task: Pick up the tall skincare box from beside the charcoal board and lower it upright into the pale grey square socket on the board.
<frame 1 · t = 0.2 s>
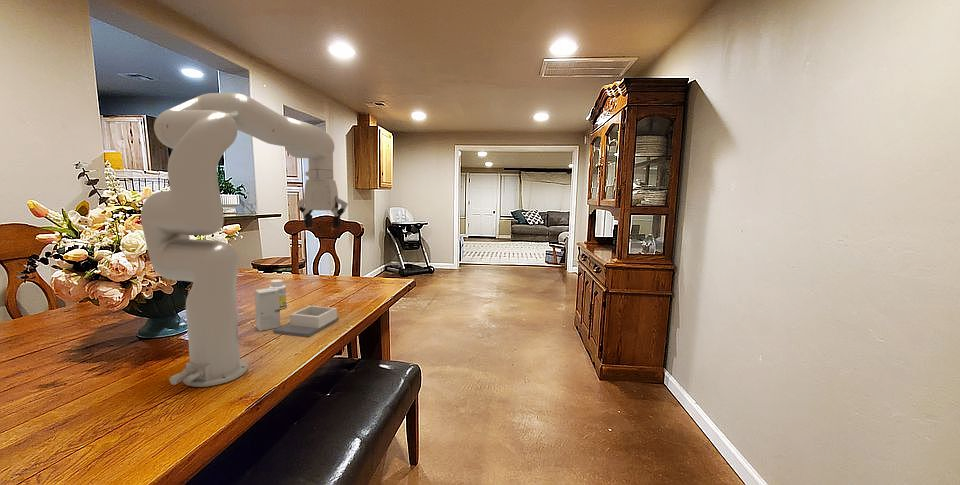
hand: (322, 227, 131), 31 cm above the table, tool pointing down, fingers open, 9 cm apart
supplement bottle: (278, 308, 143), on the table
socket holder: (314, 324, 126), on the table
skincare box: (268, 328, 123), on the table
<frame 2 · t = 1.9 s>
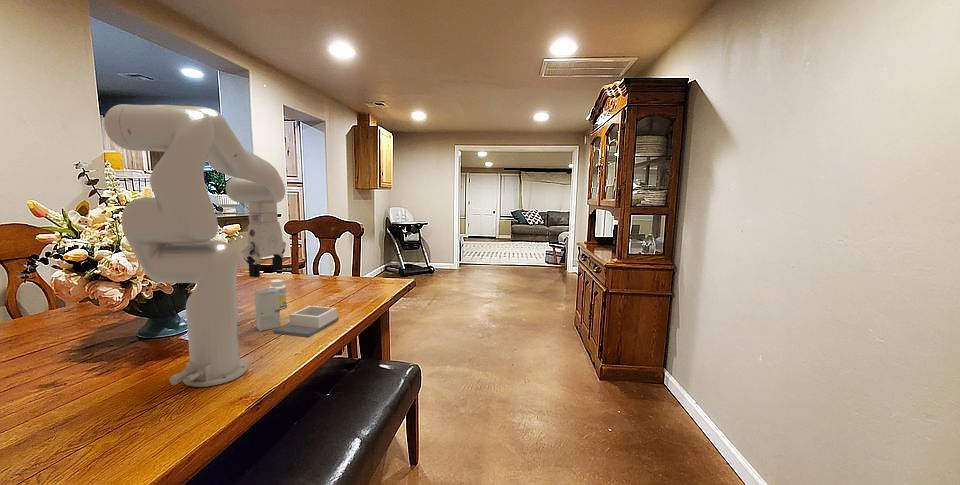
hand: (266, 273, 121), 17 cm above the table, tool pointing down, fingers open, 9 cm apart
nothing on the table moved.
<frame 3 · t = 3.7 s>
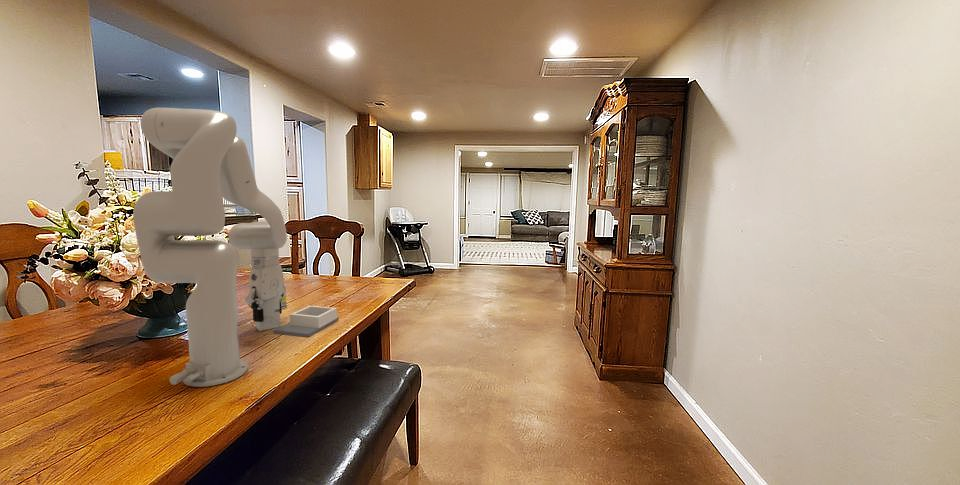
hand: (267, 317, 122), 3 cm above the table, tool pointing down, fingers closed on skincare box, 7 cm apart
skincare box: (268, 327, 123), on the table, touching gripper
everything else where it was.
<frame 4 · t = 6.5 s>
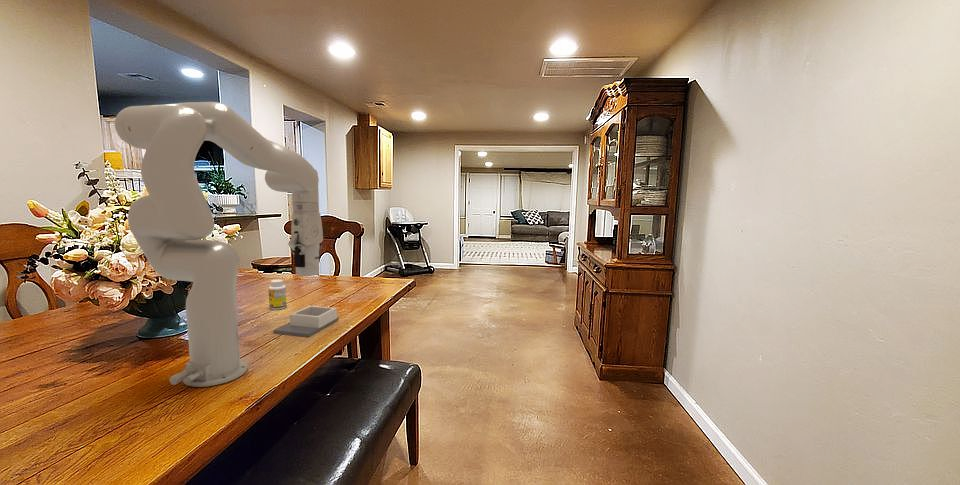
hand: (307, 264, 123), 20 cm above the table, tool pointing down, fingers closed on skincare box, 7 cm apart
skincare box: (308, 275, 124), point 16 cm above the table, touching gripper
everything else where it was.
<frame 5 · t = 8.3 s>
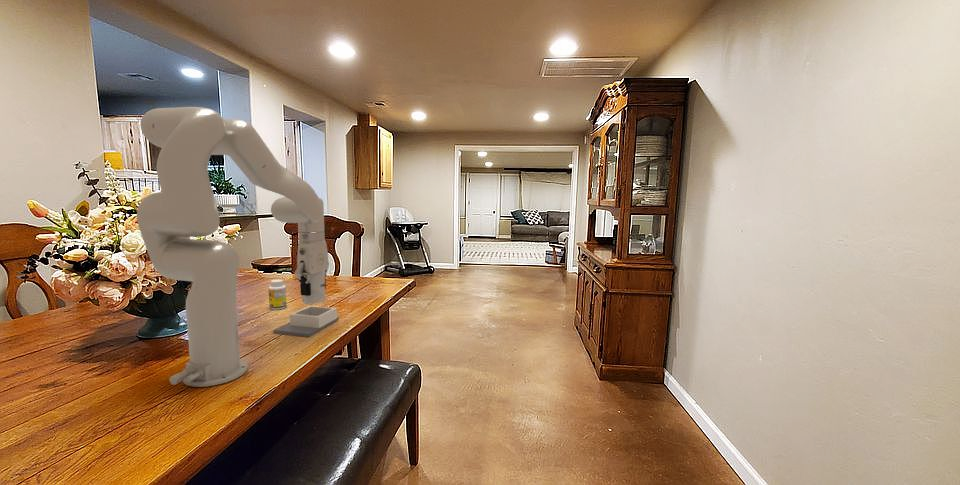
hand: (313, 291, 125), 11 cm above the table, tool pointing down, fingers closed on skincare box, 7 cm apart
skincare box: (314, 302, 126), point 7 cm above the table, touching gripper
everything else where it was.
when the fingers open (6 cm above the table, at t = 9.8 s): skincare box drops 2 cm, resting on socket holder.
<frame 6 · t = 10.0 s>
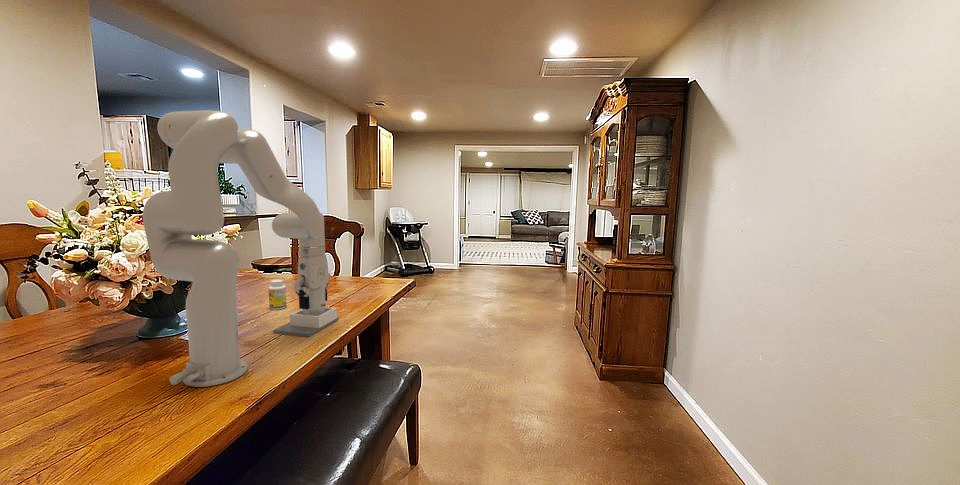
hand: (313, 304, 125), 7 cm above the table, tool pointing down, fingers open, 9 cm apart
skincare box: (314, 321, 126), point 1 cm above the table, touching socket holder
everything else where it was.
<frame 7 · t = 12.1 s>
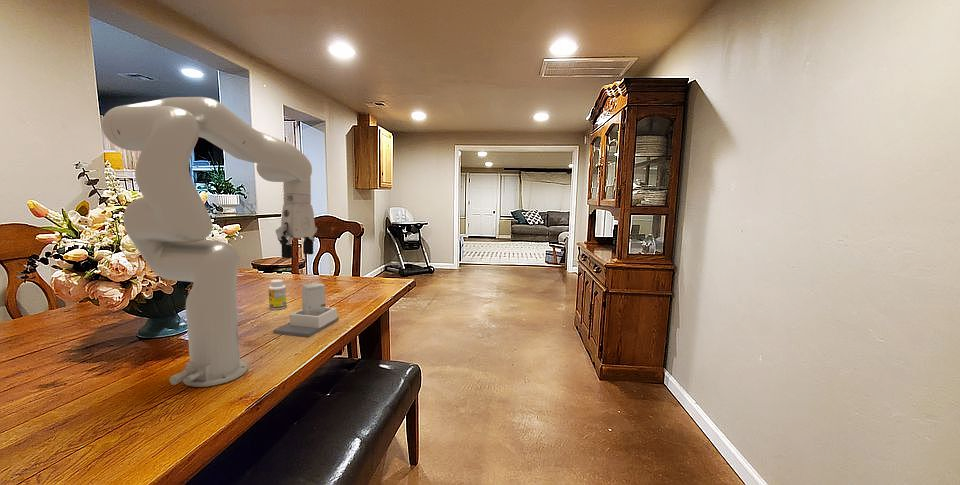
hand: (298, 255, 121), 23 cm above the table, tool pointing down, fingers open, 9 cm apart
nothing on the table moved.
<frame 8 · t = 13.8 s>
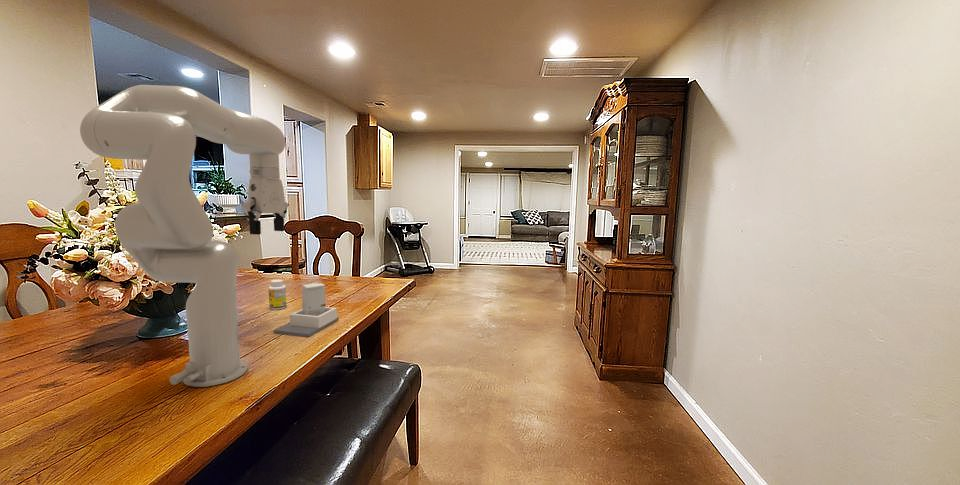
hand: (267, 232, 116), 30 cm above the table, tool pointing down, fingers open, 9 cm apart
nothing on the table moved.
at the end: skincare box 0.2 cm off-centre on the socket holder, point 0.8 cm above the socket holder's base; skincare box tilted 0°; the gripper is holding nothing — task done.
